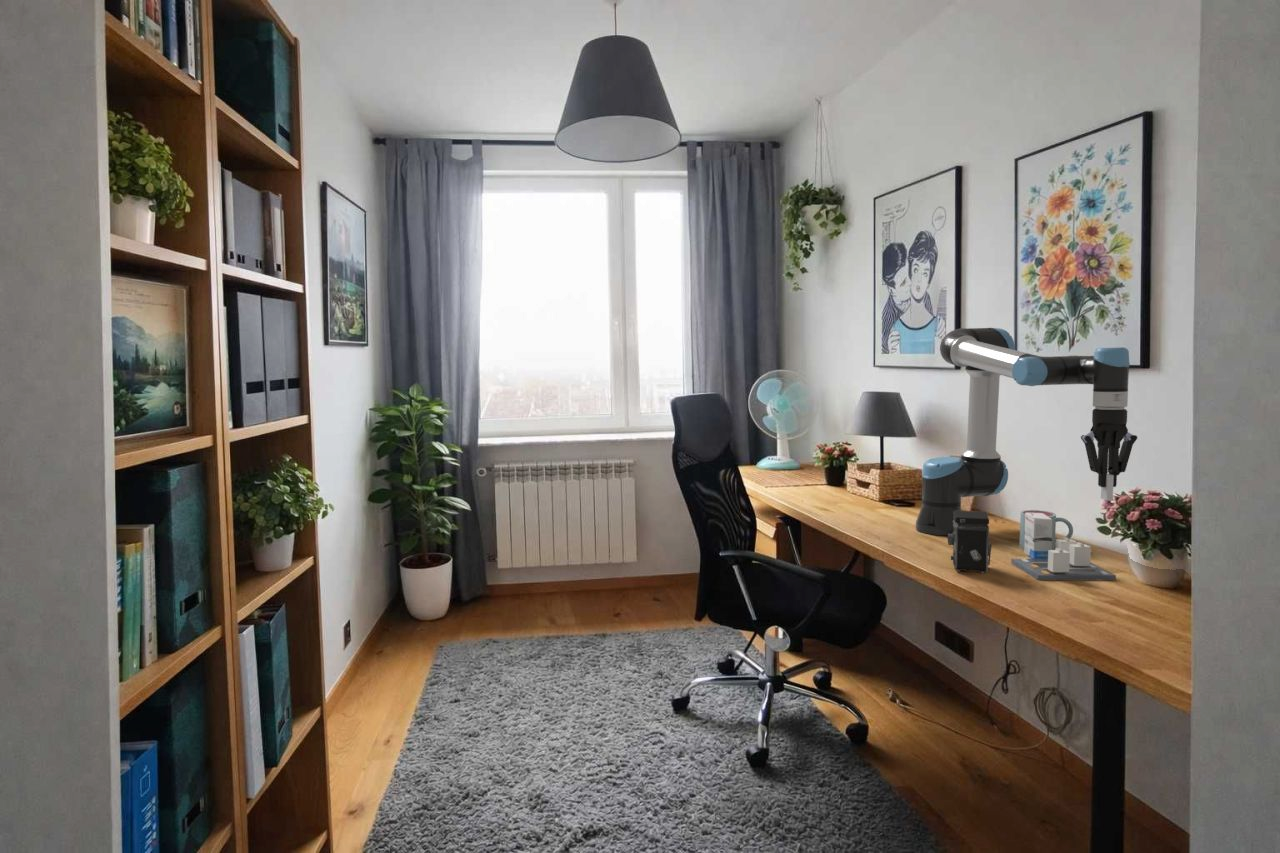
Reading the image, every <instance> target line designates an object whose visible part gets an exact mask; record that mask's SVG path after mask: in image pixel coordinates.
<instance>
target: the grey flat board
mask: <svg viewBox="0 0 1280 853" xmlns="http://www.w3.org/2000/svg"><path fill="white" fill-rule="evenodd" d="M1010 563H1011V564H1012V565H1014V566H1015V567H1016V568H1018V569H1020V570H1021V571H1023V572H1025V573H1026V574H1027V575H1029V576H1031V577H1033V579H1035V580H1036V581H1116V580H1117V577H1116V576H1117V575H1116V574H1114V573H1113V572H1111V571H1108V570H1107V569H1104V568H1102V567H1101V566H1099V565H1097V564H1094V563H1093V562H1091V561H1090V566H1073V565H1071V564H1070V563H1069V572H1052V571H1050V570H1048V559H1032V558H1011V559H1010Z"/></svg>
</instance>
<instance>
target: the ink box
mask: <svg viewBox="0 0 1280 853" xmlns="http://www.w3.org/2000/svg"><path fill="white" fill-rule="evenodd" d="M1023 549H1024V551H1023V552H1024V554H1026V555H1027V556H1028V557H1030V559H1048V550H1052V519H1051V518H1049V517H1048V516H1046V515H1045V514H1043V513H1025V547H1024V548H1023Z"/></svg>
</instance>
